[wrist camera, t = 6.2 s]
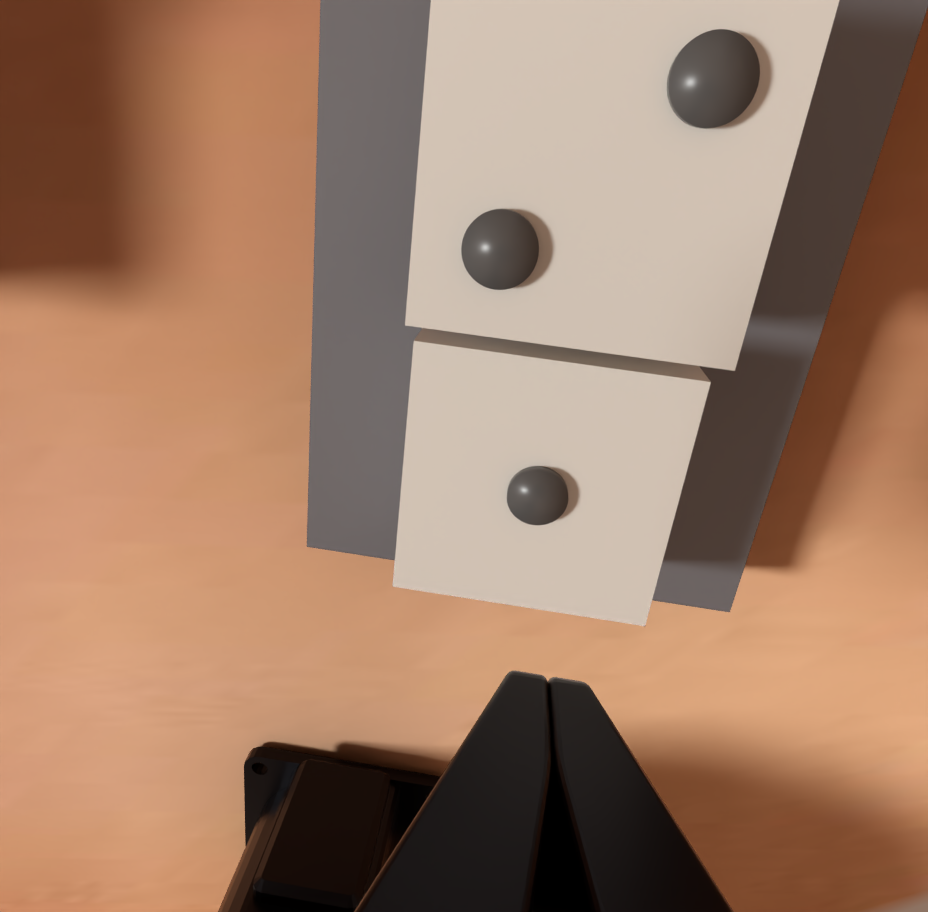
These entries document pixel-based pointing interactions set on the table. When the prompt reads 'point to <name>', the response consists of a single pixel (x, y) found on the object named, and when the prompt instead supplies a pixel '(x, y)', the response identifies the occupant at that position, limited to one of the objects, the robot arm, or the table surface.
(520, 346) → the key one
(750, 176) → the key two
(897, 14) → the keypad board
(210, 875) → the table surface
